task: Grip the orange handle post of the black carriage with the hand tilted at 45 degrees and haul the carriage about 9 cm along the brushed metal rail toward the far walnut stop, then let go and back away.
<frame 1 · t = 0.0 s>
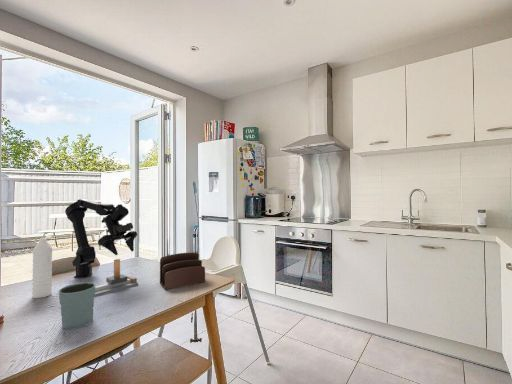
hand: (125, 252, 128), 15 cm above the table, tool tilted 35°, fingers open, 9 cm apart
carriage: (116, 270, 122), point 8 cm above the table, slide at -5.0 cm
letter holder: (182, 283, 128), on the table
water bottle: (43, 295, 113), on the table
rail: (105, 290, 118), on the table
green planter pot: (77, 323, 87), on the table
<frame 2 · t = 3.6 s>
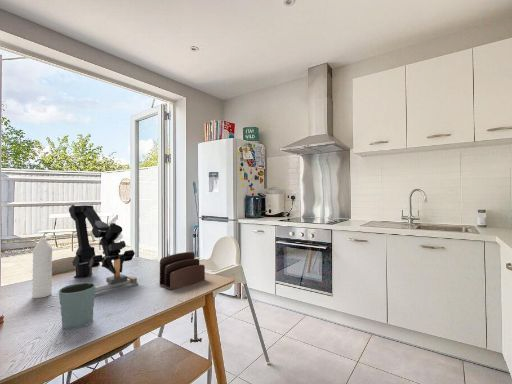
hand: (118, 272, 121), 7 cm above the table, tool tilted 45°, fingers closed on carriage, 3 cm apart
carriage: (116, 270, 122), point 8 cm above the table, slide at -5.0 cm, touching gripper
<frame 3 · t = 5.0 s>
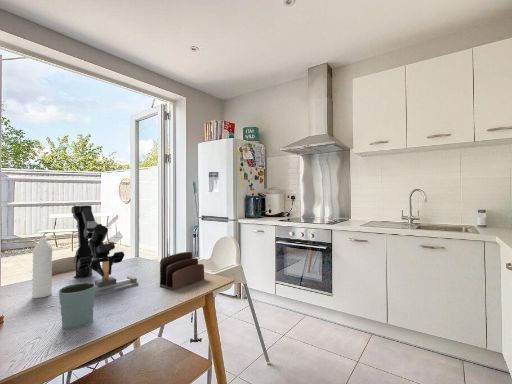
hand: (106, 275, 117), 7 cm above the table, tool tilted 45°, fingers closed on carriage, 3 cm apart
carriage: (105, 272, 118), point 8 cm above the table, slide at -0.1 cm, touching gripper
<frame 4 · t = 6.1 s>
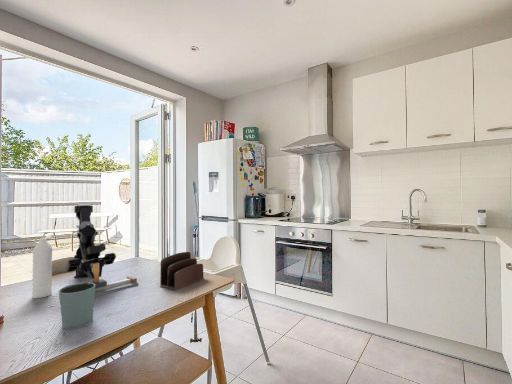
hand: (96, 277, 114), 7 cm above the table, tool tilted 45°, fingers closed on carriage, 3 cm apart
carriage: (95, 274, 115), point 8 cm above the table, slide at 3.9 cm, touching gripper
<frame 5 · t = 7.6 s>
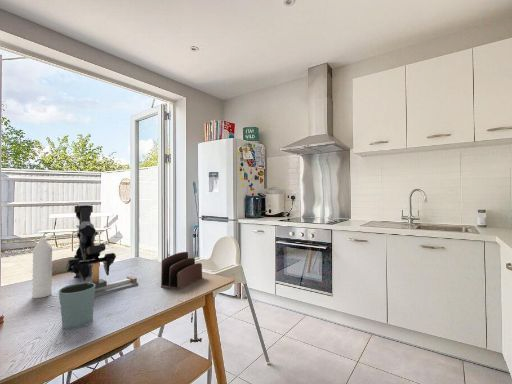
hand: (96, 277, 114), 7 cm above the table, tool tilted 45°, fingers open, 9 cm apart
carriage: (95, 274, 115), point 8 cm above the table, slide at 4.0 cm
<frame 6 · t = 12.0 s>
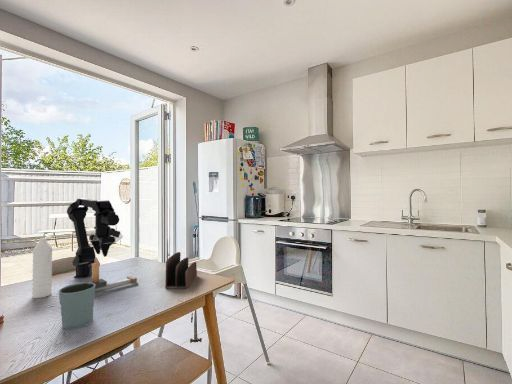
hand: (101, 255, 132), 13 cm above the table, tool pointing down, fingers open, 9 cm apart
at the end: carriage slide at 4.0 cm; the gripper is holding nothing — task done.
